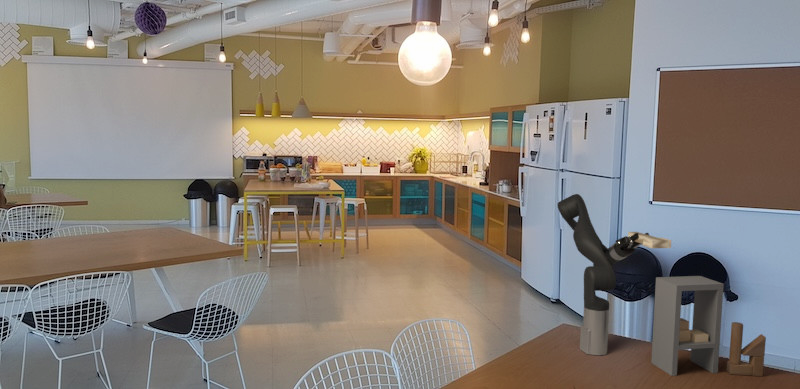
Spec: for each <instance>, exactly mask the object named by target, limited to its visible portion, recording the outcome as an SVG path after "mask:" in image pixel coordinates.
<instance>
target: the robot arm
mask: <svg viewBox="0 0 800 389" xmlns="http://www.w3.org/2000/svg"><path fill="white" fill-rule="evenodd" d="M557 209H558V212H559V214H560V215H561V217H562V218H563V220H564V221H565V222H566V223H567V225H568V226H569V227H570V228H571V230H573V233H572V237H573V242H574V244H575V246H576V249H577V251H578V252H579V253H580V254H581V255H582V256H583V257H584V258H586V259H587V260H588V261H590V262H591V263H592V266H591V265H590V266H589V265H588V266H586V267H585V269H584V271H583V320H582V321H583V324H582V325H580V337H579V339H580V340H579V349H580V351H582V352H583V353H585V354H586V355H592V356H605V355H607V354H608V343H609V342H608V341H609V340H608V339H609V323H610V321H609V319H610V301H608V300H607V299H605V298H602V297H600V296H598V295H596V292H597V291H601V292H604V291H606V292H607V291H612V290H614V289H615V287H616V284H617V281H616V280H617V279H616V274H615V271H614V270H613V266H615V264H616V263H618V262H620V261H621V260H624V259H625V258H628V257H629V256H630V255H633V253H634V252H635V251H636V248H639V247H641V245H642V246H643V244H642V243H638V242H635V240H637V239H638V238H639V235H638V233H635V234H634V235H632V236H629V237H628V235H627V236H623V237H621V238H618V239H616V240H615V242H614V243H613V244H612V245H611V246H609V247H607V246H606V245H605V244H603V242H602V240H601V239H600V237H599V235H598V233H597V232H596V229H595V228H594V225H593V223H592V220H591V218H590V215H589V212H588V208H587V206H586V202H585V201H584V199H583V197H582V196H581V195H580V194H579V193H575V194H572V195H570V196H568V197H565V198H564V199H561V200H560V201H559V202H557ZM577 217H578V219H577V221H576V220H575V219H576V218H577ZM644 234H646V235H650V234H649V232H645V233H644Z"/></svg>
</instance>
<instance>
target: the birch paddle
mask: <svg viewBox="0 0 800 389" xmlns="http://www.w3.org/2000/svg"><path fill="white" fill-rule="evenodd" d="M635 233H638V235H639V238H638V239H637V240H635V242H638V243H642V246H643V247H646V248H649V249H671V248H672V239H669V238H665V237H657V236H652V235H650V234H649V235H646V234H645V233H643V232H639V231H628V233H627V237H629V236H632V235H634V234H635Z"/></svg>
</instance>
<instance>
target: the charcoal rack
mask: <svg viewBox="0 0 800 389" xmlns="http://www.w3.org/2000/svg"><path fill="white" fill-rule="evenodd" d="M724 286H725V285H724V283H722V282H719V281H717V280H713V279H710V278H707V277H704V276H703V275H688V276H687V275H686V276H661V277H660V276H659V277H658V276H657V277H655V287H654V288H655V289H654V290H655V291H654V294H655V295H654V307H653V310H654V311H653V328H652V344H651V362H650V363H651V364H652V365H654V366H656V367H657V368H659V369H660V370H662V372H665V373H666V374H667V375H670V376H671V377H673V376H674V377H675V376H676V377H677V376H678V375H677V374H678V361H679V360H678V359H679V351H680V350H681V351H682V350H683V351H684V350H690V362H692V363H693V364H696V365H697V366H699V367H701V368H702V369H704V370H706V371H708V372H710V373H711V374H718V373H719V357H720V346H721V345H720V344H721V341H720V340H721V331H722V330H721V328H722V317H723V316H722V312H723V303H724V302H723V300H724ZM693 291H694V298H693V312H692V313H693V316H692V329H689V328H690V321H689V320H687V319H685V318H683V317H681V315H682V314H681V313H682V296H683V295H682V294H683V292H693Z"/></svg>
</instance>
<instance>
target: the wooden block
mask: <svg viewBox="0 0 800 389" xmlns="http://www.w3.org/2000/svg"><path fill="white" fill-rule="evenodd" d="M743 335H744V323H742V322H738V321H733V322H731V327H730V341H729V355H728V360H727V361H726V372H727V373H729V374H730V375H737V376H740V375H741V376H750V375H751V377H752V376H753V377H763V376H764V365H765V355H766V354H765V351H766V340H767V337H766V336H765V335H763V334H759V335H758V336H756V338H754V339H753V340H752V341H750V343H748V344H746V345H745V346H744V347H743ZM742 347H743V348H742ZM742 356H743V357H744V356H746V357H748V363H747V362H744V361H742Z"/></svg>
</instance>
